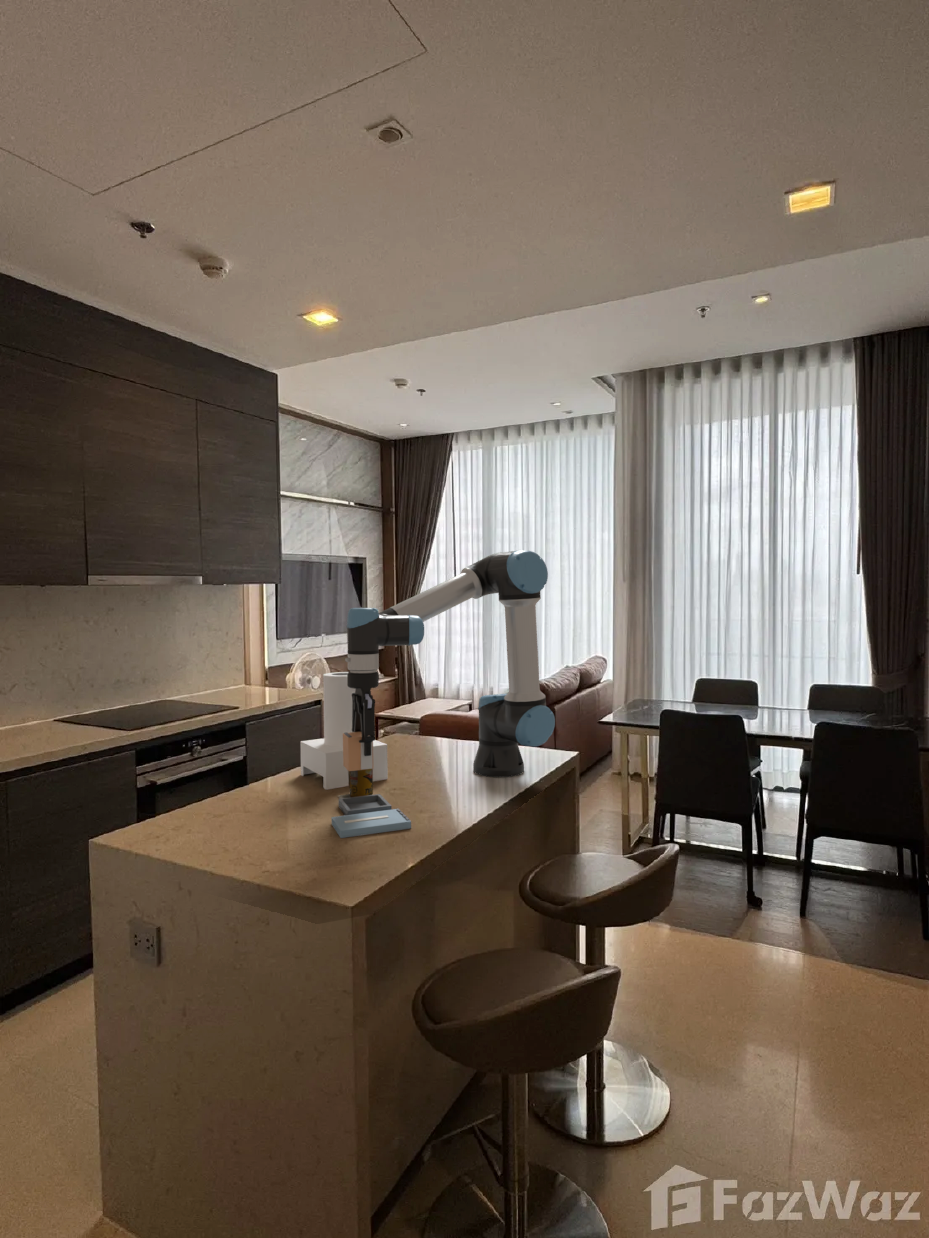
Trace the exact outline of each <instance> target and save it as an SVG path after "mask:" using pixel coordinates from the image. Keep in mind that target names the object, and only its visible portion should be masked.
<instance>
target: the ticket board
mask: <svg viewBox="0 0 929 1238" xmlns="http://www.w3.org/2000/svg"><path fill="white" fill-rule="evenodd" d="M330 819H331V826H332V827H333V829H334V830H335V832H336V834H338V836H339V838H340V839H344V838H351V837H357V836H358V837H360V836H366V835H373V834H378V833H379V834H381V833H387V832H394V831H401V830H409V829H412V821H411V819H410V818H409V817H408V816H407V815H406V814H405V813H404V812H403V811H402V810H401V809H400V808H391V810H384V811H376V812H368V813H360V814H352V815H339V816H338V815H337V816H331V818H330Z"/></svg>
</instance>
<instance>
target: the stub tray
mask: <svg viewBox="0 0 929 1238" xmlns="http://www.w3.org/2000/svg"><path fill="white" fill-rule="evenodd" d="M338 808H339V809H340V811H341V812H342V813H343V816H345V815H352V814H360V813H368V812H376V811H384V810H392V804H391V803H390V802H388V800H387V799H386V798H385V797H383V795H382V794H380V793H377V794H373V795H367V796H358V797H350V798H341V799H340V798H338Z"/></svg>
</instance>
